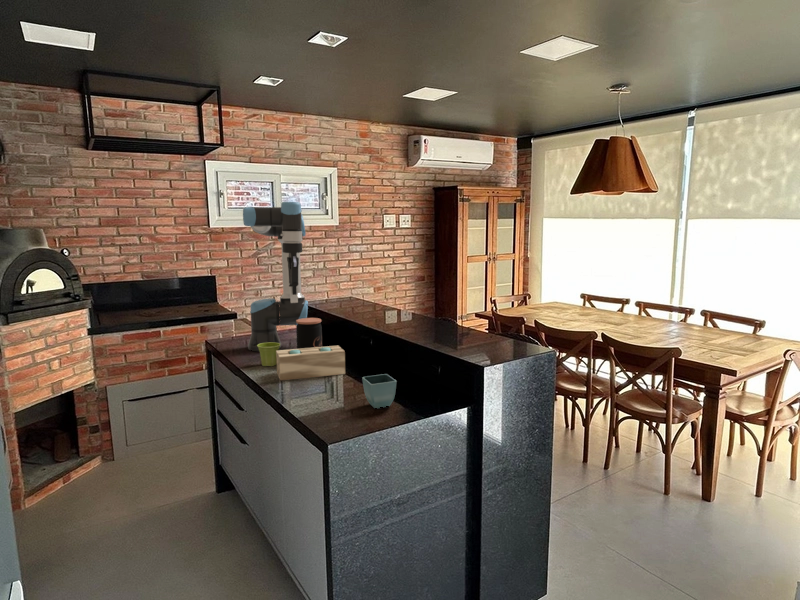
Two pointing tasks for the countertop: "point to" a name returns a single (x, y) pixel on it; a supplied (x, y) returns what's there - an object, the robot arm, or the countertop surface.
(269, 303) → the robot arm
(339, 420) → the countertop surface
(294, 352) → the peg
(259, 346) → the plant pot
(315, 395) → the countertop surface
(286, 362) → the socket block
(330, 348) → the peg
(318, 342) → the coffee jar
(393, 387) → the flower pot
